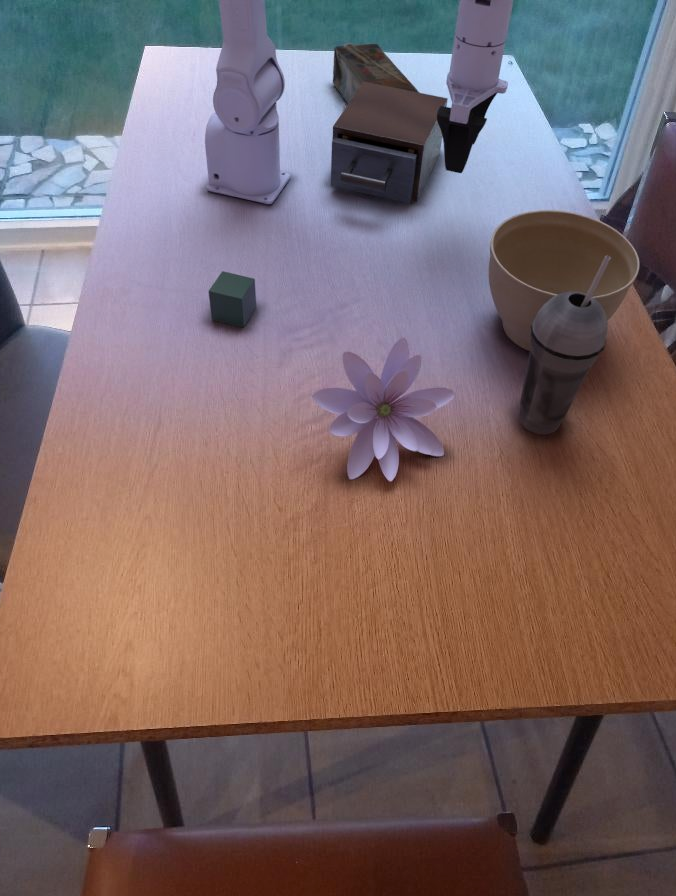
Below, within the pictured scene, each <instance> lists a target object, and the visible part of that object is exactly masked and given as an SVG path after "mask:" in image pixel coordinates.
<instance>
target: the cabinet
mask: <svg viewBox="0 0 676 896" xmlns="http://www.w3.org/2000/svg"><path fill="white" fill-rule="evenodd" d="M418 92H419V91H418ZM418 92H413V91H408V90H403V89H398V88H393V87H388V86H383V85H378V84H373V83H368V82H363V83H362V85H361V86H360V87H359V89H358V90H357V92H356V93H355V95H354V96H353V98H352V99H351V101H350V102H349V104H348V103H347V105H346V106H345V108H344V109H343V111H342V113H341V114H340V115H339V117H338V118H337V120H336V121H335V123H333V125H332V140H333V139H334V138H340V139H342V137H343V134H345V135H349V136H354V137H359V138H364V139H369V140H373V141H378V142H383V143H388V144H393V145H397V146H402V147H407V148H412V149H417V150H418V151H417V159H416V167H415V176H414V183H413V192H412V199H411V201H410V202H416V203H418V202H419V199H420V196H421V195H422V193H423V190H424V188H425V186H426V184H427V182H428V180H429V178H430V176H431V173H432V171H433V169H434V167H435V165H436V163H437V160H438V159H439V157H440V154H441V149H442V142H443V137H442V133H441V129H440V127H439V124H438V122H437V112H438V110H439V108H440V106H444V107H448V97H444V96H437V95H433V94H429V93H423V92H420V93H418Z"/></svg>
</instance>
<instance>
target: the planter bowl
mask: <svg viewBox="0 0 676 896" xmlns="http://www.w3.org/2000/svg"><path fill="white" fill-rule="evenodd" d="M605 256H609V257H610V261H609V263H608V265H607V267H606V269H605V271H604V273H603V275H602V277H601V279H600V281H599V283H598V285H597V287H596V289H595V291H594V293H593V295H592V297H593V298H594V299H595V300H596V301H597V302H598V303H599V304H600V305H601V307H602V308H603V310H604V312H605V315H606V319H607V322H608V321H609V320H610V319H611V318H612V317H613V315H614V314H615V313H616V312H617V311H618V309H619V308H620V306H621V304H622V303H623V301H624V299H625V298H626V296H627V294H628V292H629V290H630V288H631V287H632V286H633V284H634V282H635V281H636V279H637V278H638V274H639V270H640V258H639V255H638V253H637V251H636V249H635V247H634V246H633V244H632V243H631V242H630V240H629V239H627V238H626V237H625V236H624V235H623V234H622V233H620V232H619V231H618V230H617V229H616V228H613V227H612V226H611V225H609V224H607V223H605V222H603V221H601V220H599V219H596V218H594V217H591V216H587V215H584V214H581V213H577V212H574V211H573V212H572V211H566V210H555V209H539V210H533V211H532V210H531V211H526V212H521V213H518V214H515V215H513V216H510V217H508V218H506V219H505V220H503V221H502V222H501V223H500V224H499V225H497V227H496V228H495V229H494V231H493V233H492V235H491V238H490V243H489V260H488V261H489V262H488V283H489V290H490V295H491V298H492V302H493V304H494V308H495V310H496V312H497V314H498V315H499V317H500V319H501V321H502V328H503V332H505V335H506V336H507V337H508V339H510V340H511V342H513V343H514V344H515V345H517V347H520V348H522V349H524V350H526V351H528V352H530V338H531V325H532V323H533V321H534V319H535V318H536V316H537V314H538V312H539V310H540V309H541V307H542V306H543V305H544V304H545V303H547V302H548V301H549V300H550V299H551V298H553V297H554V296H556V295H559V294H561V293H565V292H572V291H574V292H581V293H585V294H587V293H588V291H589V289H590V287H591V285H592V283H593V281H594V278H595V276H596V274H597V272H598V270H599V268H600V266H601V264H602V262H603V260H604V258H605Z"/></svg>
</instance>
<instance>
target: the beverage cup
mask: <svg viewBox="0 0 676 896" xmlns="http://www.w3.org/2000/svg"><path fill="white" fill-rule="evenodd" d="M609 261H610V257H609V256H605V258H604V260H603V262H602V264H601V266H600V268H599V270H598V272H597V274H596V276H595V278H594V281H593V283H592V285H591V287H590V289H589V291H588V293H587V294H585V293H581V292H574V291H572V292H565V293H561V294H559V295H556V296H554V297H553V298H551V299H550V300H549V301H548V302H547V303H545V304H544V305H543V306H542V307H541V309H540V310H539V312H538V314H537V316H536V318H535V319H534V321H533V323H532V325H531V338H530V351H529V353H528V359H527V360H528V361H527V365H526V370H525V375H524V379H523V380H524V381H523V385H522V390H521V397H520V402H519V413H518V421H519V422H520V424H521V426H522V427H523V428H524V429H526V430H527V431H529V432H531V433H534V434H537V435H550V434H552V433H554V432H555V433H556V431H557V430H558V429H559V427H560V425H561V424H562V422H563V420H564V419H565V418H566V415H568V412H569V410H570V408H571V406H572V404H573V403H574V400H575V398H576V396H577V394H578V393H579V391H580V389H581V386H582V384H583V382H584V380H585V378H586V377H587V374H588V373H589V371H590V369H591V367H592V366H593V365H594V364H595V362H596V361H597V359H598V358H599V357H600V355H601V353H602V352H603V351H604V350H605V348H606V344H607V337H608V336H607V335H608V332H609V331H608V330H609V328H608V321H607V319H606V315H605V312H604V310H603V308H602V307H601V305H600V304H599V303H598V302H597V301H596V300H595V299H594V298H593V297H592V295H593V293H594V291H595V289H596V287H597V285H598V283H599V281H600V279H601V277H602V275H603V273H604V271H605V269H606V267H607V265H608V263H609Z"/></svg>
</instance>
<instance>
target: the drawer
mask: <svg viewBox="0 0 676 896" xmlns="http://www.w3.org/2000/svg"><path fill="white" fill-rule="evenodd" d="M417 151H418V150H417V149H412V148H407V147H402V146H397V145H393V144H388V143H383V142H378V141H373V140H369V139H364V138H359V137H354V136H349V135H345V134H343V137H342V139H340V138H334V139H333V138H332V141H331V160H330V187H333V188H338V189H342V190H348V191H352V192H356V193H361V194H366V195H369V196H374V197H379V198H382V199H387V200H388V199H389V200H392V201H397V202H402V203H407V204H410V203H411V202H412V201H411V199H412V192H413V183H414V176H415V167H416V159H417Z"/></svg>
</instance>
